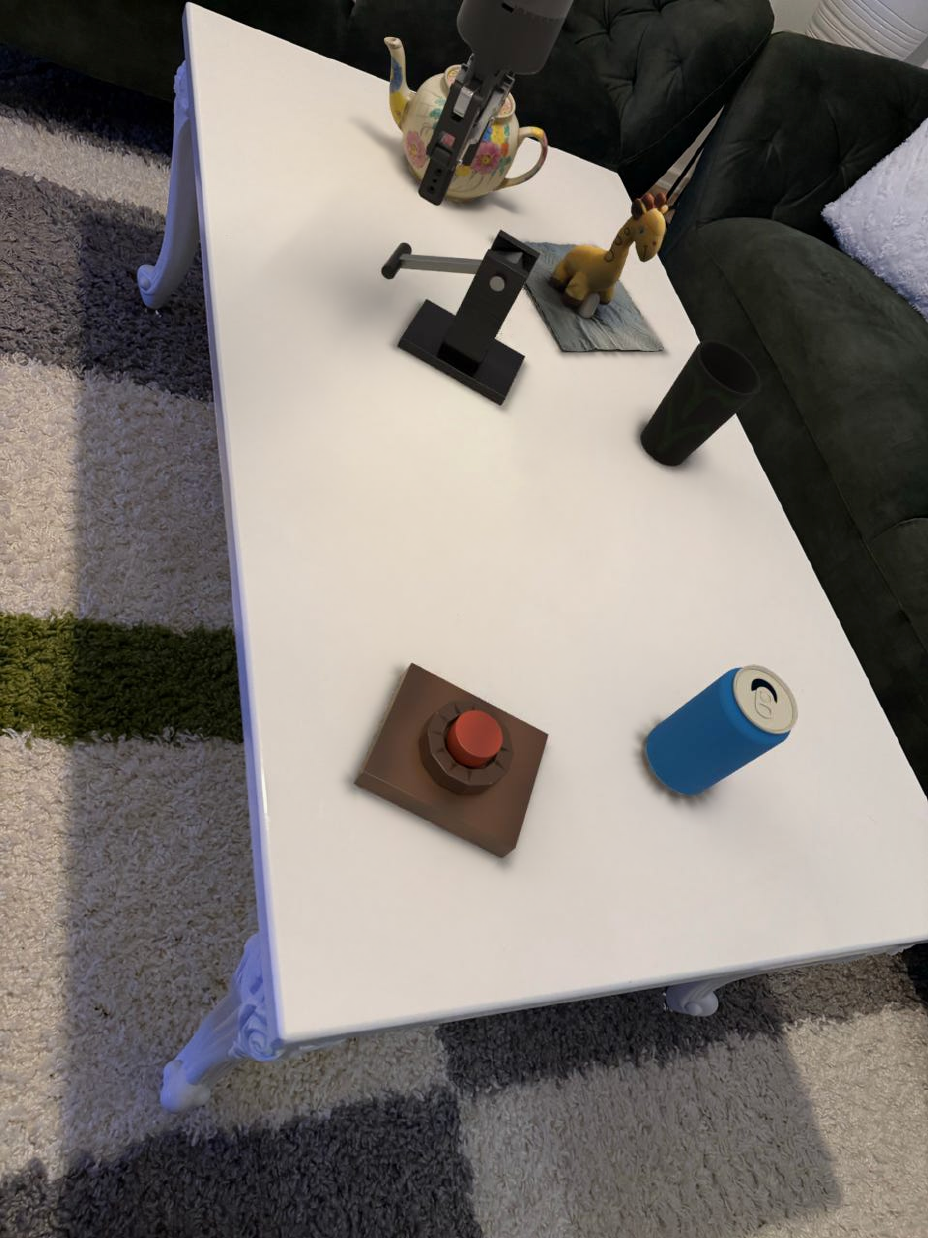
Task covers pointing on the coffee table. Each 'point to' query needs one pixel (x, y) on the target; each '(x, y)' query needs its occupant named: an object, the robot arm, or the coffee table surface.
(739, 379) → the cup
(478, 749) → the button
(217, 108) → the coffee table surface
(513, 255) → the lever
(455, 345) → the bracket
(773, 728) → the beverage can
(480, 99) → the robot arm
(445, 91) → the teapot
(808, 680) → the coffee table surface
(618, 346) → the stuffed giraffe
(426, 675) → the button block
